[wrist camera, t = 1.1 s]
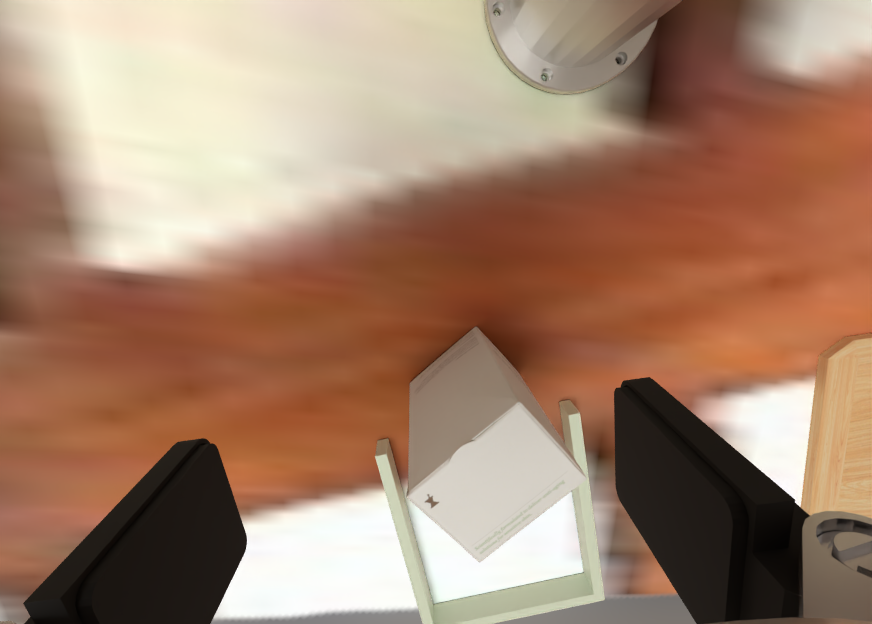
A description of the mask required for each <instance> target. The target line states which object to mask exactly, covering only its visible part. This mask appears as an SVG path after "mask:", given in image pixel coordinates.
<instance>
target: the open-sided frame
mask: <svg viewBox="0 0 872 624" xmlns="http://www.w3.org/2000/svg"><path fill="white" fill-rule="evenodd" d="M559 406H560V413H561V419H562V426H563V433H564V440H565V445H566V446H567V448H568V449H569V451H570V452H571V454H572V456H573V457H574V459H575V460H576V462H577V463H578V465H579V466H580V468H581V469H582V471H583V472H584V474H585V476H586V477H587V479H586V480H585V481H584V482H583V483H582V484H580V485H579V486H578V487H576V488H575V489H574V490H572V495H573V502H574V508H575V515H576V522H577V529H578V536H579V543H580V550H581V556H582V563H583V570H584V573H580V574H576V575H571V576H566V577H561V578H557V579H552V580H547V581H542V582H538V583H533V584H528V585H523V586H519V587H514V588H509V589H504V590H500V591H495V592H490V593H485V594H481V595H476V596H471V597H466V598H462V599H457V600H452V601H447V602H443V603H438V604H433V601H432V598H431V594H430V590H429V587H428V583H427V579H426V576H425V572H424V568H423V565H422V561H421V557H420V553H419V550H418V546H417V542H416V539H415V535H414V531H413V528H412V524H411V520H410V517H409V513H408V509H407V506H406V502H405V498H404V494H403V491H402V487H401V483H400V480H399V476H398V472H397V469H396V465H395V461H394V458H393V454H392V450H391V447H390V443H389V439H388V438H387V439H383V440H378V441H377V448H376V454H375V458H376V461H377V465H378V468H379V472H380V475H381V479H382V482H383V486H384V489H385V493H386V496H387V500H388V503H389V507H390V510H391V514H392V517H393V521H394V524H395V528H396V531H397V535H398V539H399V542H400V546H401V549H402V553H403V556H404V560H405V563H406V567H407V570H408V574H409V577H410V581H411V584H412V588H413V591H414V595H415V598H416V602H417V605H418V609H419V612H420V616H421V619H422V623H423V624H493V623H498V622H502V621H507V620H512V619H517V618H522V617H526V616H531V615H536V614H541V613H546V612H550V611H555V610H560V609H564V608H569V607H574V606H578V605H584V604H588V603H593V602H598V601H602V600H605V599H604V591H603V584H602V576H601V569H600V561H599V553H598V546H597V538H596V531H595V523H594V516H593V508H592V501H591V493H590V486H589V478H588V470H587V463H586V455H585V448H584V440H583V433H582V425H581V418H580V412H579V411H578V410H577V408H576V407H575V406H574V405H573V403H572V402H571V401H570V400H565V401H561V402H559Z"/></svg>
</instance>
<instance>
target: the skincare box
mask: <svg viewBox="0 0 872 624" xmlns="http://www.w3.org/2000/svg"><path fill="white" fill-rule="evenodd" d="M586 479H587V477H586V476H585V474H584V472H583V471H582V469H581V468H580V466H579V465H578V463H577V462H576V460H575V459H574V457H573V456H572V454H571V452H570V451H569V449H568V448H567V446H566V445H565V443H564V442H563V440H562V439H561V437H560V436H559V434H558V433H557V431H556V429H555V428H554V426H553V425H552V423H551V422H550V420H549V419H548V417H547V416H546V414H545V413H544V411H543V409H542V408H541V406H540V405H539V403H538V402H537V400H536V399H535V397H534V396H533V394H532V392H531V391H530V389H529V388H528V386H527V385H526V383H525V382H524V380H523V379H522V377H521V375H520V374H519V372H518V371H517V370H516V369H515V368H514V367H513V365H512V364H511V363H510V362H509V361H508V360H507V359H506V358H505V357H504V355H503V354H502V353H501V352H500V351H499V350H498V349H497V348H496V347H495V346H494V345H493V344H492V342H491V341H490V340H489V339H488V338H487V337H486V336H485V335H484V334H483V333H482V332H481V331H480V330H479V328H478V327H474V328H473V329H472V330H471V331H469V332H468V333H467V334H466V335H465V336H463V337H462V338H461V339H460V340H459V341H458V342H456V343H455V344H454V345H453V346H452V347H451V348H449V349H448V350H447V351H446V352H445V353H444V354H442V355H441V356H440V357H439V358H438V359H437V360H435V361H434V362H433V363H432V364H431V365H430V366H428V367H427V368H426V369H425V370H424V371H423V372H422V373H420V374H419V375H418V376H417V377H416V378H415V379H414V380H413V381H412V382H410V411H409V472H408V490H407V498H408V499H409V500H410V501H411V502H412V503H414V504H415V505H416V506H417V507H418V508H419V509H420V510H421V511H422V512H424V513H425V514H426V515H427V516H428V517H429V518H430V519H432V520H433V521H434V522H435V523H436V524H437V525H438V526H440V527H441V528H442V529H443V530H444V531H445V532H446V533H448V534H449V535H450V536H451V537H452V538H453V539H454V540H455V541H457V542H458V543H459V544H460V545H461V546H462V547H463V548H464V549H465V550H466V551H467V552H468V553H470V554H471V555H472V556H473V557H474V558H475V559H476V560H477V561H478V562H481V561H482V560H484V559H485V558H486V557H487V556H489V555H490V554H491V553H492V552H494V551H495V550H496V549H497V548H499V547H500V546H501V545H503V544H504V543H505V542H506V541H508V540H509V539H510V538H512V537H513V536H514V535H515V534H517V533H518V532H519V531H521V530H522V529H523V528H524V527H526V526H527V525H528V524H530V523H531V522H532V521H533V520H535V519H536V518H537V517H539V516H540V515H541V514H542V513H544V512H545V511H546V510H548V509H549V508H550V507H552V506H553V505H554V504H555V503H557V502H558V501H559V500H561V499H562V498H563V497H564V496H566V495H567V494H568V493H570V492H571V491H572V490H574V489H575V488H576V487H578V486H579V485H580V484H582V483H583V482H584V481H585V480H586Z"/></svg>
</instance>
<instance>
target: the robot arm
mask: <svg viewBox="0 0 872 624" xmlns="http://www.w3.org/2000/svg"><path fill="white" fill-rule="evenodd" d="M681 1H683V0H484V6H485V15H486V22H487V26H488V29H489V33H490V36H491V39H492V41H493V43H494V45H495V47H496V49H497V52H498V54H499V55H500V57H501V58H502V59H503V61H504V62H505V63H506V65H507V66H508V67H509V69H510V70H511V71H512V72H514V73H515V74H516V75H517V76H518V77H519V78H520V79H521V80H523V81H525V82H526V83H528V84H530V85H531V86H533V87H535V88H537V89H540V90H543V91H547V92H550V93H557V94H574V93H582V92H585V91H588V90H591V89H594V88H597V87H599V86H601V85H603V84H605V83H607V82H609V81H610V80H612V79H613V78H615V77H616V76H617V75H619V74H620V73H622V72H623V71H624V70H625V69H626V68H627V67H628V66H629V65H630V64H631V63H632V62H633V61H634V60H635V59H636V58H637V57H638V56H639V54H640V53H641V51H642V50H643V49H644V47H645V46H646V44H647V43H648V41H649V39H650V37H651V35H652V33H653V31H654V29H655V27H656V24H657V21H658V18H660V17H661V16H662V15H664V14H665V13H667V12H668V11H669V10H671V9H672V8H673V7H675V6H676V5H677V4H679V3H680V2H681ZM495 10H497V11H499V13H500V16H496V15H495V14H494V13H493V12H494V11H495ZM615 59H617V60H618V61H619V64H617V63H616V60H615ZM541 75H545V76H546V81H543V80H542V78H541ZM614 412H615V476H616V490H617V494H618V497H619V499H620V501H621V503H622V505H623V506H624V508H625V510H626V511H627V513H628V514H629V516H630V518H631V519H632V521H633V522H634V524H635V526H636V527H637V529H638V530H639V532H640V534H641V535H642V537H643V538H644V540H645V542H646V543H647V545H648V546H649V548H650V550H651V551H652V553H653V555H654V556H655V558H656V559H657V561H658V563H659V564H660V566H661V567H662V569H663V571H664V572H665V574H666V575H667V577H668V579H669V580H670V582H671V583H672V585H673V587H674V588H675V590H676V591H677V593H678V595H679V596H680V598H681V599H682V601H683V603H684V604H685V606H686V607H687V609H688V610H689V612H690V614H691V615H692V617H693V619H694V620H695V622H696V623H697V624H872V518H869V517H866V516H863V515H859V514H854V513H849V512H843V511H824V512H819V513H814V514H812V515H811V516H810V515H809V514H808V513H806V512H805V511H804V510H803V509H802V508H801V507H799V506H798V505H797V504H796V503H795V499H793V498H792V497H791V496H790V495H789V494H787V493H786V492H785V491H784V490H783V489H782V488H780V487H779V486H778V485H777V484H776V483H774V482H773V481H772V480H771V479H770V478H769V477H767V476H766V475H765V474H764V473H763V472H761V471H760V470H759V469H758V468H757V467H756V466H754V465H753V464H752V463H751V462H750V461H749V460H747V459H746V458H745V457H744V456H743V455H741V454H740V453H739V452H738V451H737V450H736V449H734V448H733V447H732V446H731V445H730V444H728V443H727V442H726V441H725V440H724V439H723V438H721V437H720V436H719V435H718V434H717V433H715V432H714V431H713V430H712V429H711V428H710V427H708V426H707V425H706V424H705V423H704V422H702V421H701V420H700V419H699V418H698V417H697V416H695V415H694V414H693V413H692V412H691V411H689V410H688V409H687V408H686V407H685V406H684V405H682V404H681V403H680V402H679V401H678V400H676V399H675V398H674V397H673V396H672V395H671V394H669V393H668V392H667V391H666V390H665V389H664V388H662V387H661V386H660V385H659V384H658V383H656V382H655V381H654V380H653V379H651V378H650V377H648V378H640V379H633V380H625V381H623V382H622V385H621V388H616V389H615V392H614ZM246 545H247V537H246V533H245V530H244V527H243V524H242V521H241V518H240V515H239V512H238V508H237V505H236V502H235V499H234V496H233V493H232V490H231V487H230V484H229V481H228V478H227V475H226V472H225V469H224V466H223V463H222V460H221V457H220V454H219V451H218V449H217V446H216V445H215V444H210V442H209V441H208V440H207V439H204V438H203V439H195V440H188V441H181V442H177V443H176V444H175V445H174V446H173V447H172V448H171V449H170V450H169V451H168V452H167V453H166V454H165V455H164V456H163V457H162V458H161V459H160V460H159V461H158V462H157V463H156V464H155V465H154V467H153V468H152V469H151V470H150V471H149V472H148V473H147V474H146V475H145V476H144V477H143V478H142V479H141V480H140V481H139V482H138V483H137V484H136V485H135V486H134V487H133V489H132V490H131V491H130V492H129V493H128V494H127V495H126V496H125V497H124V498H123V499H122V500H121V501H120V502H119V503H118V504H117V505H116V506H115V507H114V508H113V510H112V511H111V512H110V513H109V514H108V515H107V516H106V517H105V518H104V519H103V520H102V521H101V522H100V523H99V524H98V525H97V526H96V527H95V528H94V529H93V531H92V532H91V533H90V534H89V535H88V536H87V537H86V538H85V539H84V540H83V541H82V542H81V543H80V544H79V545H78V546H77V547H76V548H75V549H74V550H73V552H72V553H71V554H70V555H69V556H68V557H67V558H66V559H65V560H64V561H63V562H62V563H61V564H60V565H59V566H58V567H57V568H56V569H55V570H54V571H53V573H52V574H51V575H50V576H49V577H48V578H47V579H46V580H45V581H44V582H43V583H42V584H41V585H40V586H39V587H38V588H37V589H36V590H35V591H34V592H33V593H32V595H31V596H30V597H29V598H28V599H27V600H26V601H25V602H24V603H23V604H24V605H25V607H26V609H27V611H28V613H29V615H30V616H31V617H30V618H29V619H28V620H27V621H26V622H25V624H210V623H211V621H212V619H213V617H214V615H215V613H216V611H217V609H218V607H219V605H220V603H221V601H222V599H223V597H224V594H225V592H226V590H227V588H228V586H229V584H230V582H231V580H232V578H233V576H234V574H235V572H236V570H237V567H238V565H239V563H240V561H241V559H242V557H243V555H244V553H245V550H246ZM0 624H16V623H14V622H12V621H0Z"/></svg>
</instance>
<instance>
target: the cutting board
mask: <svg viewBox="0 0 872 624" xmlns="http://www.w3.org/2000/svg"><path fill="white" fill-rule="evenodd" d="M801 508H802V509H803V510H804V511H805V512H806V513H808V514H809V515H810V516H811V515H812V514H814V513H819V512H824V511H843V512H849V513H854V514H859V515H863V516H866V517H869V518H872V333H869V334H862V335H854V336H847V337H843V338H842V339H841V340H839V341H838V342H836V343H835V344H834V345H832V346H831V347H830V348H828V349H827V350H825V351H824V352H823V353H821V354H820V355H818V364H817V372H816V381H815V389H814V398H813V407H812V415H811V424H810V432H809V441H808V449H807V458H806V466H805V475H804V483H803V492H802V501H801Z"/></svg>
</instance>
